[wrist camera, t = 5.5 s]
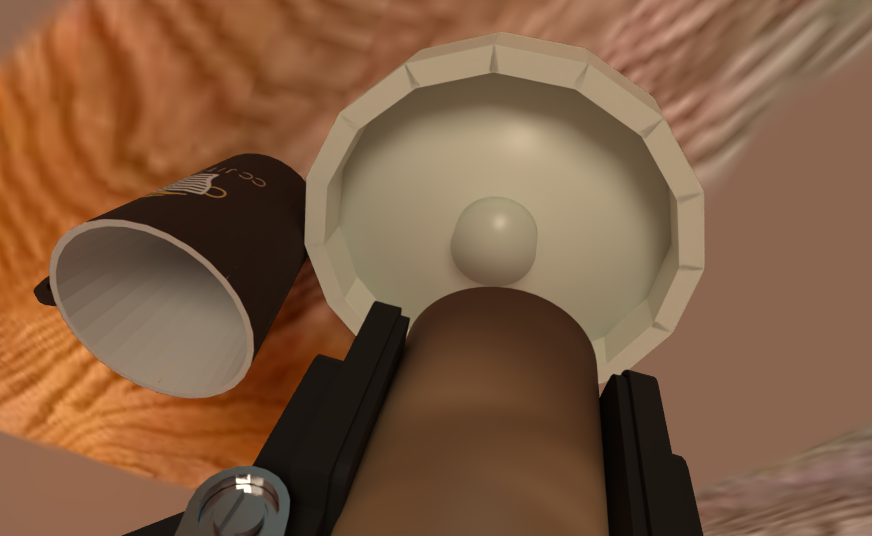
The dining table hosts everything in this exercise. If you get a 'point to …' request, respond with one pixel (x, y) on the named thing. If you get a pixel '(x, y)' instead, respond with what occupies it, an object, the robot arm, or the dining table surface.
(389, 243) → the tray
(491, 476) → the cylinder
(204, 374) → the coffee mug
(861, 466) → the dining table surface
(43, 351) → the dining table surface
